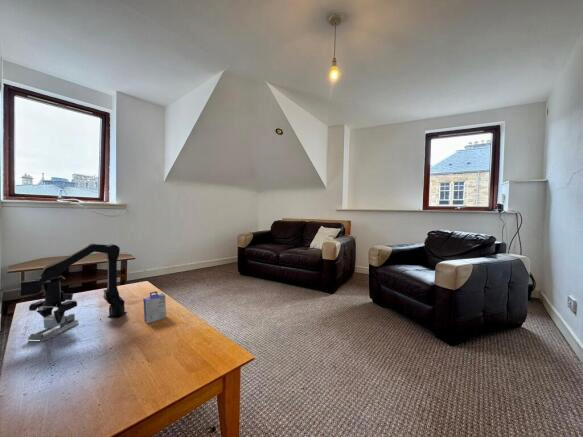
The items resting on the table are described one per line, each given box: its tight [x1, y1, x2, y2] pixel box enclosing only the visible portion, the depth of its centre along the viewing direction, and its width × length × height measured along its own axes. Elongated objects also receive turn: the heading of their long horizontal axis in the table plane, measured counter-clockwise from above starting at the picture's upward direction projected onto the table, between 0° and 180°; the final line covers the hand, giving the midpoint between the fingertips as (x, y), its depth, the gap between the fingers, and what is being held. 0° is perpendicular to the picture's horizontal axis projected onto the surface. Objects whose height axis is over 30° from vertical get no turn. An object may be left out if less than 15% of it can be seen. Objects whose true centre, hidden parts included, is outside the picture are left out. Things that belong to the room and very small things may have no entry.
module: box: [43, 312, 65, 329], centre depth 119 cm, size 4×6×5 cm
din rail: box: [27, 313, 79, 342], centre depth 119 cm, size 8×17×6 cm, turn 178°
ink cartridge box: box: [142, 291, 167, 324], centre depth 132 cm, size 10×6×14 cm, turn 134°
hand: (54, 322), depth 119 cm, fingers closed on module, 4 cm apart
